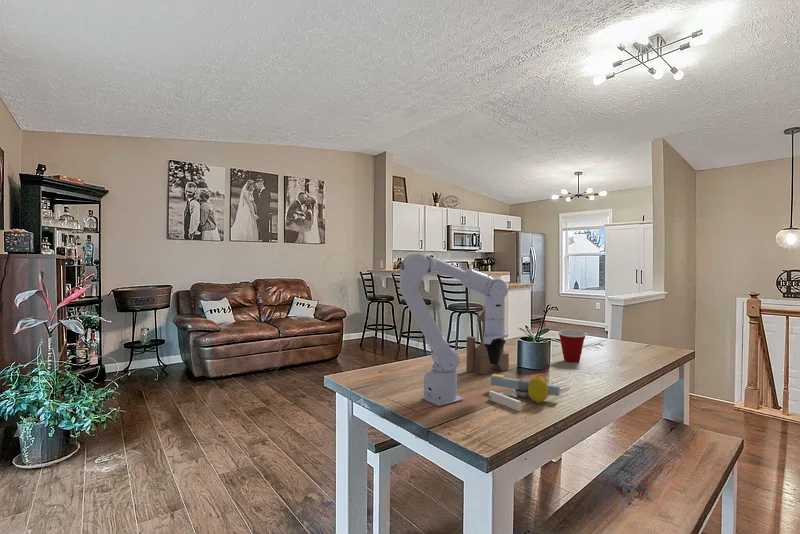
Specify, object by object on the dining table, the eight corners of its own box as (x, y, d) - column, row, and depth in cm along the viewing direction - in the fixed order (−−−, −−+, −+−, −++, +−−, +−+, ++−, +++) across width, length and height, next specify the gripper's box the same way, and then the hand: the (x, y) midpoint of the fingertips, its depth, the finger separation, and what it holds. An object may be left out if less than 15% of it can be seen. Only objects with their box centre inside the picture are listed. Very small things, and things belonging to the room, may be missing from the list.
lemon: (535, 407, 114) (535, 379, 114) (524, 401, 119) (524, 373, 119) (552, 405, 116) (552, 377, 115) (540, 399, 121) (540, 372, 121)
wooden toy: (496, 366, 158) (496, 301, 158) (508, 370, 153) (509, 303, 152) (464, 371, 151) (465, 303, 150) (476, 375, 145) (477, 305, 144)
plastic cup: (558, 363, 162) (558, 333, 162) (556, 357, 173) (556, 328, 172) (588, 365, 159) (588, 334, 159) (584, 359, 169) (584, 330, 169)
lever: (557, 396, 117) (557, 386, 117) (490, 385, 128) (490, 375, 127) (560, 393, 120) (560, 383, 120) (493, 382, 131) (493, 373, 131)
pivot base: (525, 399, 120) (525, 394, 120) (511, 395, 125) (511, 389, 125) (536, 396, 123) (536, 391, 123) (522, 392, 127) (522, 386, 127)
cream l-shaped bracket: (518, 411, 111) (518, 402, 111) (488, 399, 121) (489, 391, 120) (539, 404, 116) (540, 396, 116) (509, 394, 126) (509, 385, 125)
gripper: (500, 323, 114) (499, 371, 115) (514, 316, 127) (514, 360, 127) (476, 321, 118) (476, 367, 118) (492, 315, 130) (492, 357, 131)
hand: (494, 363), depth 123 cm, fingers closed
